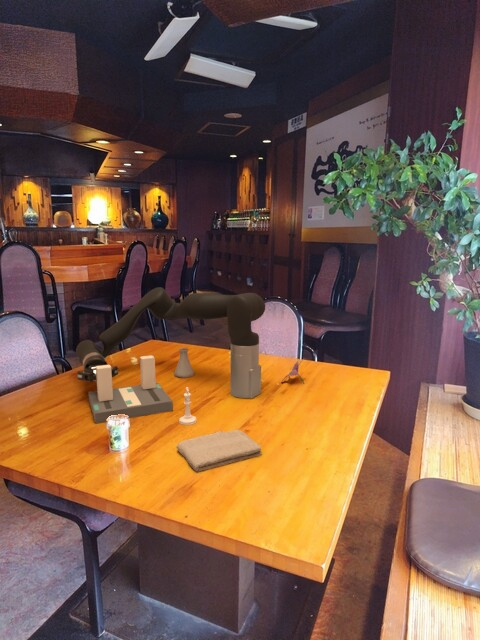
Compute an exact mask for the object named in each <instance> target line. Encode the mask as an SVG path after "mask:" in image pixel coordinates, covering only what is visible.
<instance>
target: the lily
mask: <svg viewBox="0 0 480 640" xmlns="http://www.w3.org/2000/svg"><path fill="white" fill-rule="evenodd" d="M304 360H305V358H303V359H302V360H301V361H300V362H299V360H297V361H296V363H295V362H294V363H295V364H294V365H293V366H292V367H291V368H290V370H291V371H289V373H288V374H287V375H285V377H283V378H282V380H281V382H283V381H284V380H285V379H287V377H288V379H290V377H294V376H298V377H299V378H300V379H301V382H302V383H303V384H305V382H304V380H303V378H302V377H301V376H300V374H299V367H300V365H301V363H302V362H303V361H304Z"/></svg>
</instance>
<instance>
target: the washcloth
mask: <svg viewBox="0 0 480 640" xmlns="http://www.w3.org/2000/svg"><path fill="white" fill-rule="evenodd" d="M261 447H262V446H261V444H258V443H256V442H255V441H254V440H253V439H252V438H251V437H250V436H249V435H247V434H246V433H245V432H244V431H241V430H240V429H234V430H229V431H221V430H219V431H217V432H214V433H211V434H205V435H200V436H196V437H193V438H189V439H184V440H182V441H181V442H179V443H177V446H176V450H177V451H178V452H179V453H180V455H182V456H183V458H185V459H186V461H187V464H188V465H189V467H191V468H192V469H193V470H194V471H195V472H198V473H199V472H202V470H203V471H206V470H211V469H214V468H218V467H222V466H224V465H228V464H233V463H236V462H240V461H242V460H247V459H248V460H249V459H252V458H255V457H260V456H262V453H261V450H262V449H261Z"/></svg>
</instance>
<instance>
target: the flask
mask: <svg viewBox="0 0 480 640" xmlns="http://www.w3.org/2000/svg"><path fill="white" fill-rule="evenodd" d="M178 351H179V357H178V359H179V360H178V361H177V365H176V368H175V370H174V374H173V375H174V376H175V377H177V378H184V379H187V378H191V377H193V376H194V375H195V372H194V369H193V367H192V365H191V362H190V359H189V356H188V355H189V354H188V351H189V349H188V348H179V349H178Z"/></svg>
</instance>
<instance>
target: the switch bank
mask: <svg viewBox="0 0 480 640" xmlns="http://www.w3.org/2000/svg"><path fill="white" fill-rule="evenodd" d="M112 389H113V400H107V401H101V402H99V400H98V393H97V390H96V391H88V392H87V393H88V401H89V405H90V409H91V413H92V415H93V418H94V419H93V420H94V422H95V424H102V423H107V422H106V419H107V418H108V417H109V416H111V415H118V414H125V415H128V416H129V418H128V419H130V418H137V417H138V418H139V417H143V416H148V415H154V414H155V415H156V414H161V413H167V412H172V411H174V407H173V406H174V402H173V399H171V397H170V396H169V394H168V393H167V392H166V391H165V389H164V388H163V387H162V386H161V384H160V383H159V382H156V388H151V389H144V390H143V388H142V387H141V384H139V385H130V386H122V387H115V388H112Z"/></svg>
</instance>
